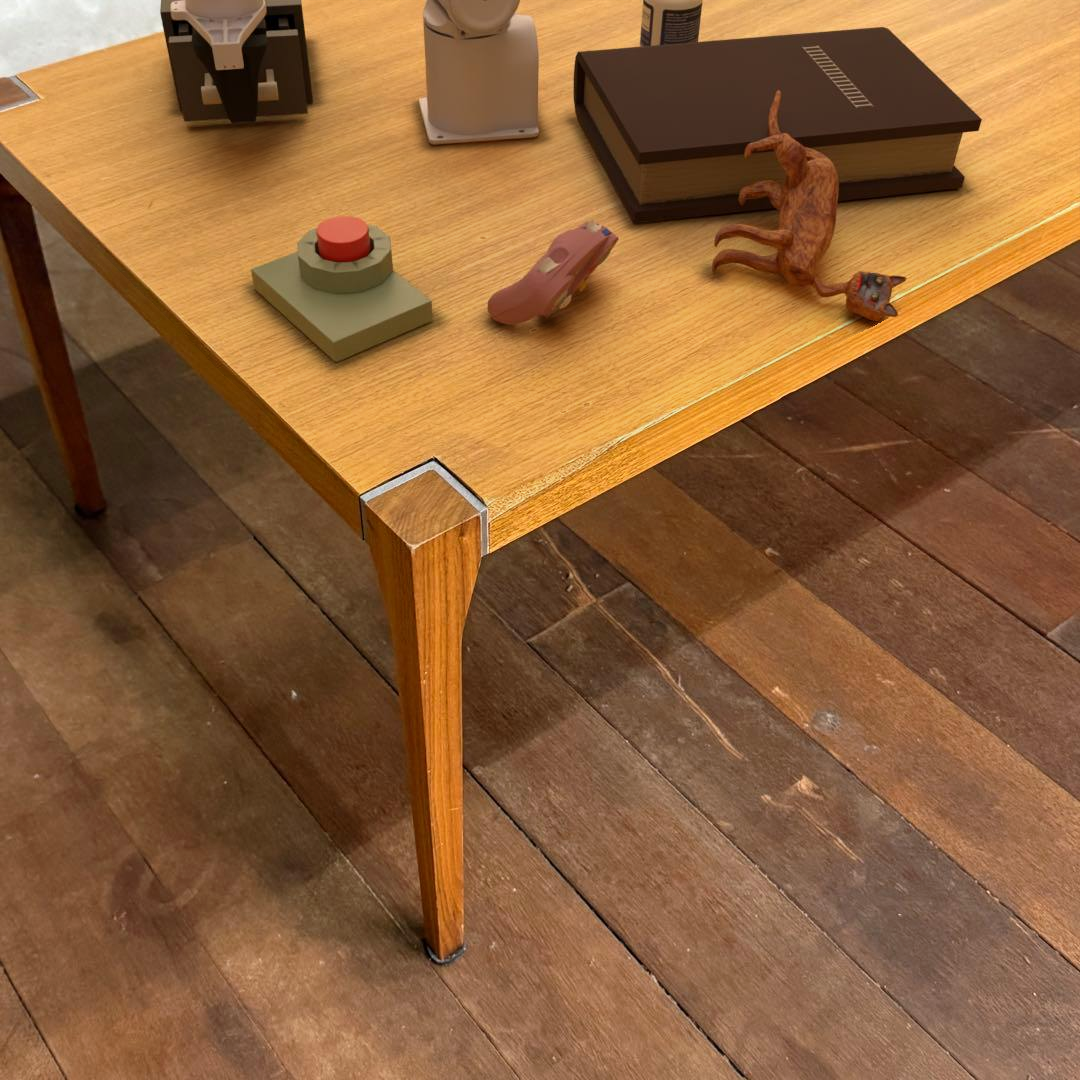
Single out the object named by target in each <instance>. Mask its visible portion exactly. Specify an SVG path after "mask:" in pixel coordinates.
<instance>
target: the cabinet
mask: <svg viewBox="0 0 1080 1080" xmlns="http://www.w3.org/2000/svg"><path fill="white" fill-rule="evenodd" d="M174 1H183V0H160V10H159V15H160V19H161V25H162V29H163V34H164V40H165V44H166V49H167V54H168V59H169V64H170V68H171V69H170V70H171V73H172V78H173V84H174V89H175V93H176V94H175V95H176V98H177V103H178V108H179V112H182V108H181V103H180V98H179V93H178V88H177V83H176V78H175V73H174V68H173V63H172V58H171V53H170V48H169V37H174V36H179V21H180V20H174V19H172V16H171V11H170V6H171V3H172V2H174ZM265 2H266V10H267V12H266V15H265V16H270V15H288V19H289V27H290V30H295V29H297V30H298V38H299V46H300V54H301V62H302V70H303V78H304V87H305V95H306V103H307V104H309V103H314V98H313V89H312V80H311V71H310V63H309V55H308V53H309V52H308V46H307V38H306V29H305V21H304V12H303V11H304V10H303V3H302V0H265Z"/></svg>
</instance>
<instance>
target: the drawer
mask: <svg viewBox="0 0 1080 1080" xmlns="http://www.w3.org/2000/svg"><path fill="white" fill-rule="evenodd" d="M263 19H265V23H266V35H267V48H266V52H265V54H264V57H263V59H262V63H261V66H260V71H259V79H258V110H257V118H262V117H263V118H264V117H276V116H289V115H290V116H292V115H293V116H294V115H306V114H307V115H308V113H309V112H308V103H306V95H305V87H304V78H303V70H302V62H301V54H300V46H299V38H298V30H297V29H295V30H290V27H289V19H288V15H270V16H264V18H263ZM192 34H193V26H192V25H191V24H190V23H189V22H188V21H186V20H180V21H179V36H174V37H169V48H170V53H171V58H172V63H173V68H174V73H175V78H176V83H177V88H178V93H179V98H180V103H181V108H182V111H181V113H182V116H183V121H184V123H187V122H202V121H203V122H204V121H217V120H229V118H228V116H227V114H226V112H225V109H224V107H223V104H222V101H221V99H220V96H219V93H218V91H217V88H216V86H215V83H214V81H213V79H212V77H211V76H210V74H209V72H208V70H207V69H206V67H205V66H204V65H203V63H202V62H201V61H200V60H199V59H198V57H197V56H196V54H195V52H194V50H193V47H192Z"/></svg>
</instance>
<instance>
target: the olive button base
mask: <svg viewBox="0 0 1080 1080" xmlns="http://www.w3.org/2000/svg"><path fill="white" fill-rule="evenodd" d="M366 224H367V225H368V228H369V238H370V253H369V255H368V256H367V257H364V258H362V259H359V260H357V261H354V262H342V263H337V262H333V261H329V260H324V259H323V258H322V257H321V256H320V254H319V248H318V240H317V232H316V231H317V227H315V228H313V229H310V230H308V231H307V232H306V233H305V234H304V235H303V236H302V237H301V238H300V239H299V240H298V241H297V251H295V252H293V253H290V254H287V255H284V256H281V257H280V258H277V259H273V260H271V261H269V262H266V263H264V264H261V265H257V266H255V267H253V268H251V270H250V271H251V277H252V282H253V288H254V290H255V291H256V292H257V293H258V294H259V295H260V296H262V297H263V298H264V299H265V300H266V301H267V302H269V304H270V305H272V306H273V307H274V308H275V309H276V310H277V311H278V312H279V313H280V314H281V315H282V316H284V317H285V319H287V320H288V321H289V322H290V323H291V324H293V325H294V327H296V328H297V329H298V330H299V331H300V332H301V333H302V334H304V335H305V336H306V337H307V338H308V339H309V340H310V341H311V342H313V343H314V344H315V345H316V346H317V347H318V348H319V349H320V350H321V351H322V352H323V353H324V354H326V356H328V357H329V358H330V359H331V360H332V361H333V362H334V363H339V362H341V361H343V360H345V359H348V358H350V357H352V356H355V355H357V354H359V353H361V352H364V351H366V350H368V349H370V348H373V347H376V346H377V345H378V346H379V345H380V344H382V343H384V342H387V341H389V340H392V339H394V338H396V337H399V336H401V335H403V334H405V333H408V332H411V331H412V330H415V329H417V328H420V327H422V326H424V325H426V324H428V323H431V322H433V301H432V300H431V299H430V298H429V297H428V296H426V295H425V294H424V293H423V292H421V290H419V289H417V288H416V287H415V286H414V285H412V283H410V282H408V281H407V280H406V279H405V278H403V276H402V275H399V273H397V272H396V271H395V270H394V264H393V251H392V243H391V237H390V235H388V234H387V233H386V232H385V231H383V230H382V229H380V228H379V227H378V226H377V225H376V226H375V225H371V224H368V223H366Z"/></svg>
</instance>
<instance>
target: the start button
mask: <svg viewBox="0 0 1080 1080" xmlns="http://www.w3.org/2000/svg"><path fill="white" fill-rule="evenodd" d="M367 224H368V223H367V222H366V221H364V219H362V218H358V217H357V216H353V215H338V216H333V217H330V218H326V219H325V220H323V221H322V222H320V223H319V224H318V226H317V227H316V228H317V231H316V232H317V240H318V248H319V254H320V256H321V257H322V258H323V259H324V260H329V261H333V262H337V263H342V262H354V261H357V260H359V259H362V258H364V257H367V256H368V255H369V253H370V238H369V228H368V225H369V224H368V225H367Z"/></svg>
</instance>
